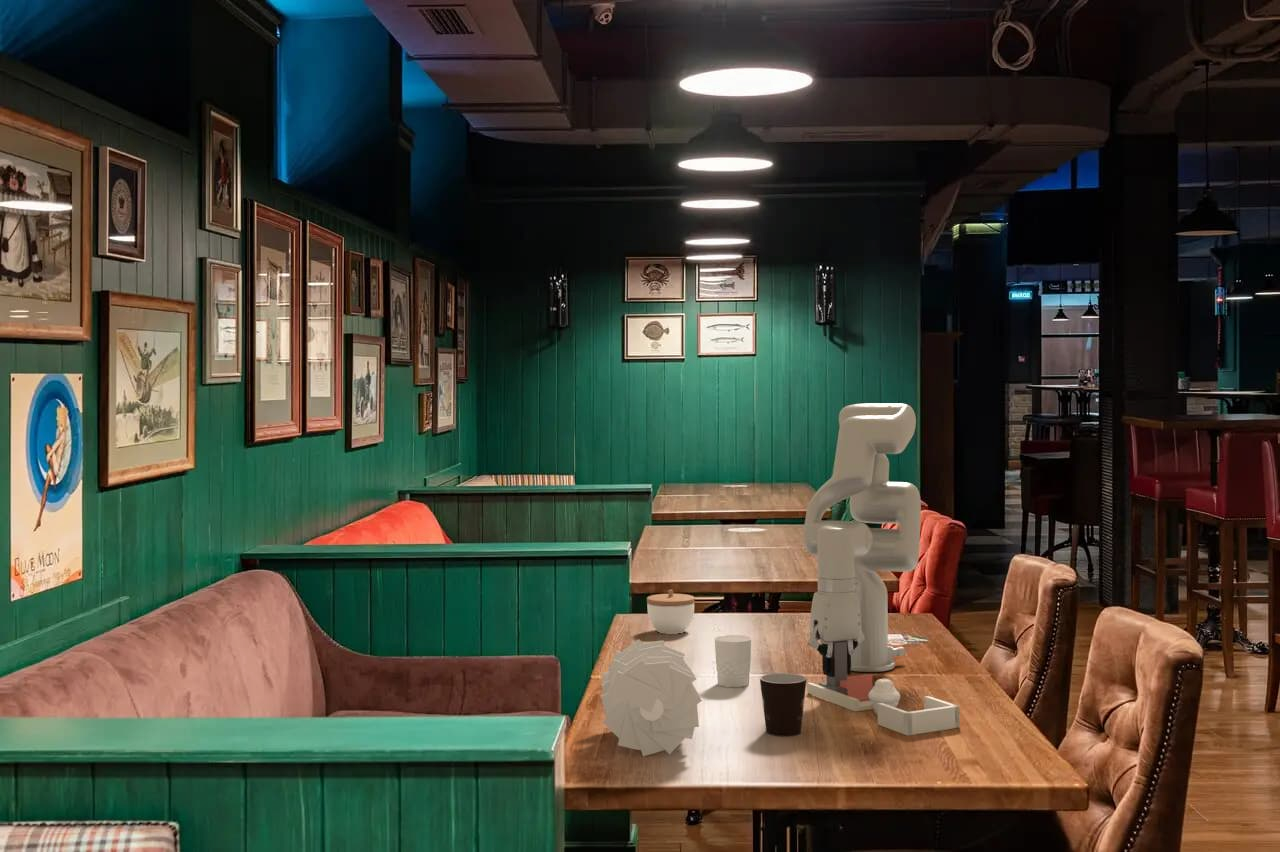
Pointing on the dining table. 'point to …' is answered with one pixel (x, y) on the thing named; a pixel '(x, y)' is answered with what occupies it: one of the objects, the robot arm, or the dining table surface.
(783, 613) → the dining table surface
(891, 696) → the white ribbed dome
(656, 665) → the spiral staircase
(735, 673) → the white cup
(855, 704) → the track
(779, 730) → the coffee mug
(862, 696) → the block
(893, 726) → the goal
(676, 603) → the lidded bowl
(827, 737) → the dining table surface
